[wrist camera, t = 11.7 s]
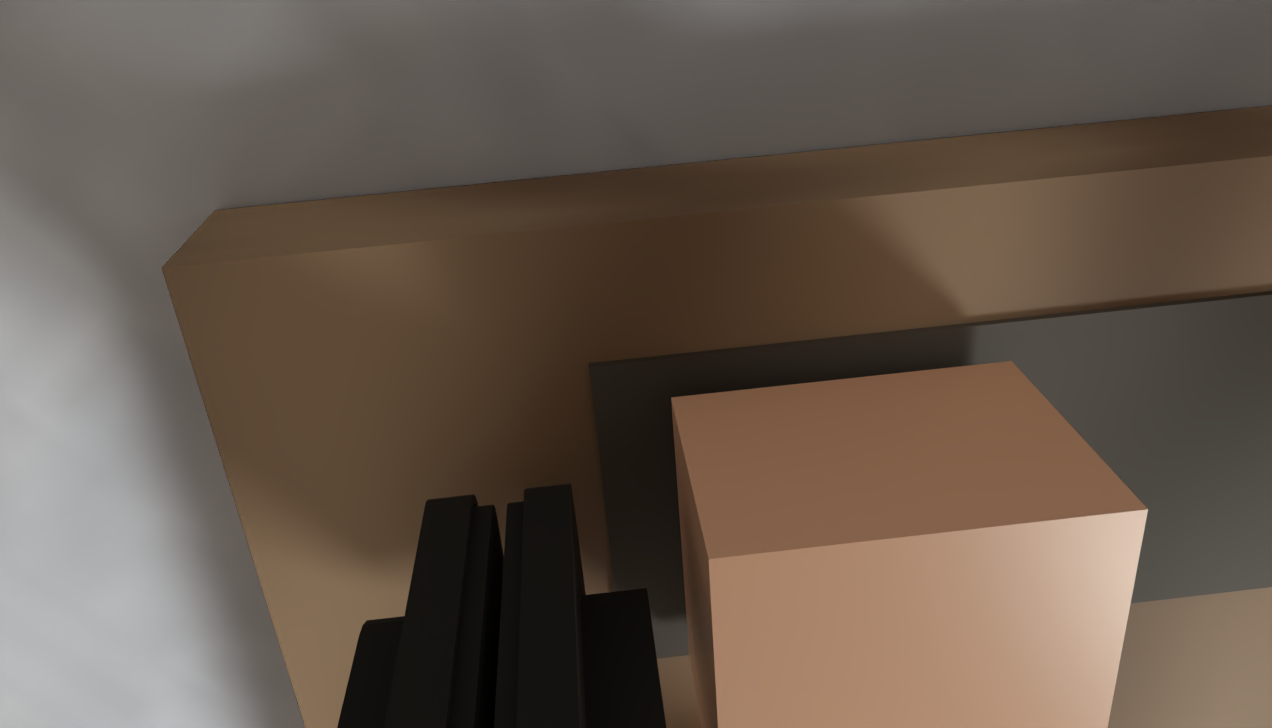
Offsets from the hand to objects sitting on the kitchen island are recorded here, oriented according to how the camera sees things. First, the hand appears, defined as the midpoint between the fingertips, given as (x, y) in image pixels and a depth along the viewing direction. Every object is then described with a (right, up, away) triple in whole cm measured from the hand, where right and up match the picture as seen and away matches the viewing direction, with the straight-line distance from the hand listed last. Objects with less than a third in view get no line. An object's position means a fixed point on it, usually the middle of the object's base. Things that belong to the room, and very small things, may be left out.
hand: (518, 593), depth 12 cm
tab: (+4, +1, +1) cm, 4 cm away
